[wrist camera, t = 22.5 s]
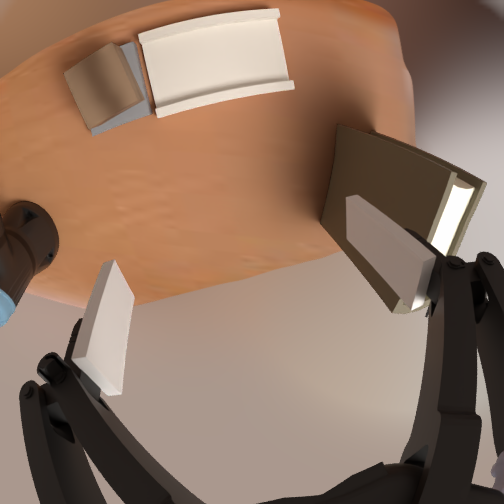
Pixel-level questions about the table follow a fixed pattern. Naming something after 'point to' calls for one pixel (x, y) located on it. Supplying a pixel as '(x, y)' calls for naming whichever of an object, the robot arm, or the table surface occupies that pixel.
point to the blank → (103, 85)
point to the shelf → (215, 59)
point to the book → (398, 197)
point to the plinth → (144, 106)
